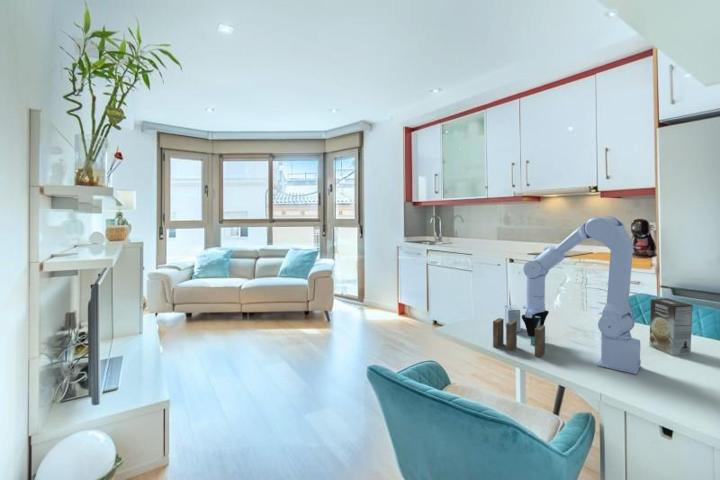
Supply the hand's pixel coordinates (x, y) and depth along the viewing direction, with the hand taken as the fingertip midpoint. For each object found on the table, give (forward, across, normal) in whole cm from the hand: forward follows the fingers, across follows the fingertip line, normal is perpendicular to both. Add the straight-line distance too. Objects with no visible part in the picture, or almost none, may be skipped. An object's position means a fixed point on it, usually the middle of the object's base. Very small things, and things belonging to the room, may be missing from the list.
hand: (535, 333), depth 129 cm
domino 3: (+3, +10, +5) cm, 12 cm away
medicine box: (+4, -11, -12) cm, 17 cm away
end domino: (+3, +10, -9) cm, 14 cm away
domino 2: (+3, 0, 0) cm, 4 cm away
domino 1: (+3, +10, -4) cm, 11 cm away
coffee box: (+4, -19, +35) cm, 40 cm away
